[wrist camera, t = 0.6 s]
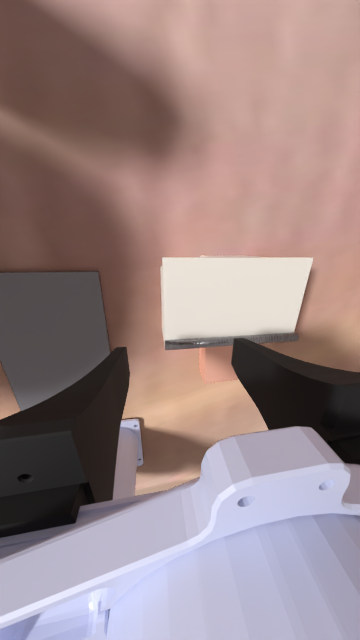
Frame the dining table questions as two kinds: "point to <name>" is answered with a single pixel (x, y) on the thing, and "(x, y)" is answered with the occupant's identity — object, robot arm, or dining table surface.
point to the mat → (50, 331)
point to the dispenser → (231, 299)
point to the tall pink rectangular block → (216, 364)
